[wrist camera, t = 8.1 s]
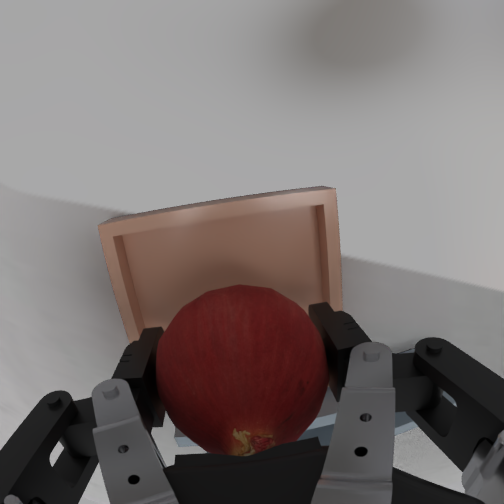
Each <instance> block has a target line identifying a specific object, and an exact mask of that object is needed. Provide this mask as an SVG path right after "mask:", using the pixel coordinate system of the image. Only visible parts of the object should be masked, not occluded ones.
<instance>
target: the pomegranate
mask: <svg viewBox="0 0 504 504" xmlns="http://www.w3.org/2000/svg"><path fill="white" fill-rule="evenodd" d="M328 384H329V369H328V363H327V357H326V351H325V346H324V343H323V340H322V337H321V335H320V332H319V331H318V329H317V328H316V326H315V325H314V323H313V322H312V321H311V319H310V318H309V316H308V315H307V313H306V312H305V310H304V309H302V308H301V307H300V306H299V305H298V304H297V303H296V302H294V301H292V300H290V299H289V298H287V297H285V296H284V295H282V294H280V293H279V292H277V291H275V290H274V289H272V288H266V287H258V286H250V285H241V284H238V285H234V286H229V287H224V288H220V289H215V290H211V291H207V292H205V293H204V294H202V295H201V296H199V297H197V298H196V299H194V300H193V301H191V302H189V303H188V304H186V305H185V306H183V307H182V308H181V309H180V310H179V312H178V313H177V314H176V315H175V317H174V318H173V320H172V321H171V323H170V324H169V326H168V327H167V329H166V330H165V332H164V333H163V335H162V336H161V338H160V339H159V342H158V348H157V354H156V385H157V390H158V395H159V397H160V399H161V401H162V403H163V405H164V407H165V410H166V412H167V414H168V416H169V418H170V419H171V421H172V422H173V424H174V425H175V427H176V428H178V429H179V430H180V431H181V432H182V433H183V434H184V435H185V436H187V437H188V438H189V439H190V440H191V441H192V442H194V443H195V444H197V445H199V446H200V447H201V448H203V449H204V450H205V451H207V452H209V453H213V454H223V455H234V456H249V455H252V454H255V453H258V452H261V451H264V450H267V449H270V448H272V447H275V446H278V445H280V444H283V443H288V442H294V441H297V440H298V438H299V437H300V436H301V435H302V434H303V433H304V432H305V431H306V429H307V428H308V427H309V426H310V425H311V424H312V423H313V421H314V420H315V419H316V417H317V415H318V413H319V412H320V409H321V406H322V403H323V400H324V397H325V394H326V391H327V388H328Z"/></svg>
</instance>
